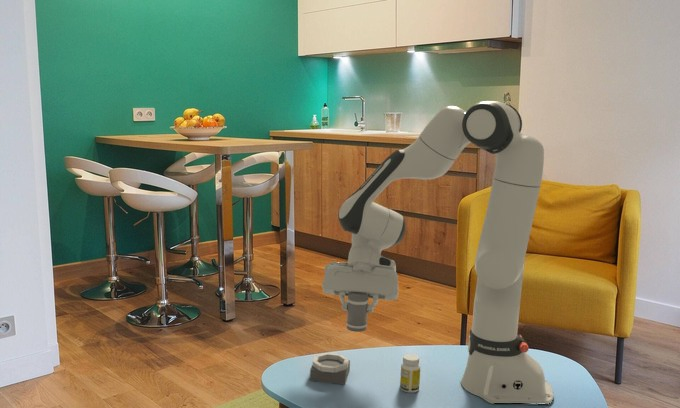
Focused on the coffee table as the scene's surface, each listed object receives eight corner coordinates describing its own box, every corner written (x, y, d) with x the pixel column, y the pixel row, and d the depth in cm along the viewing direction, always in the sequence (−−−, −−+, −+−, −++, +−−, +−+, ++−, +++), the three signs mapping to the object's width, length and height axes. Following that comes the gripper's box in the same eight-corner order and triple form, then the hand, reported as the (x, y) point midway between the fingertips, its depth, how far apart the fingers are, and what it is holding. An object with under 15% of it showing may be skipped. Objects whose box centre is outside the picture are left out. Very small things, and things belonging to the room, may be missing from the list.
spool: (367, 325, 167) (369, 292, 165) (365, 332, 161) (367, 299, 160) (347, 323, 167) (349, 290, 166) (344, 330, 162) (346, 297, 160)
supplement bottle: (418, 385, 159) (420, 353, 158) (419, 394, 154) (421, 361, 153) (399, 383, 159) (401, 352, 158) (399, 392, 155) (401, 360, 153)
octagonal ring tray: (349, 370, 166) (350, 355, 165) (344, 385, 157) (345, 369, 157) (316, 366, 167) (316, 351, 167) (309, 381, 159) (310, 365, 158)
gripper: (324, 255, 170) (316, 301, 162) (400, 261, 166) (395, 309, 159) (327, 266, 175) (319, 312, 167) (400, 273, 172) (396, 319, 164)
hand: (357, 310), depth 163 cm, fingers closed on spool, 5 cm apart
